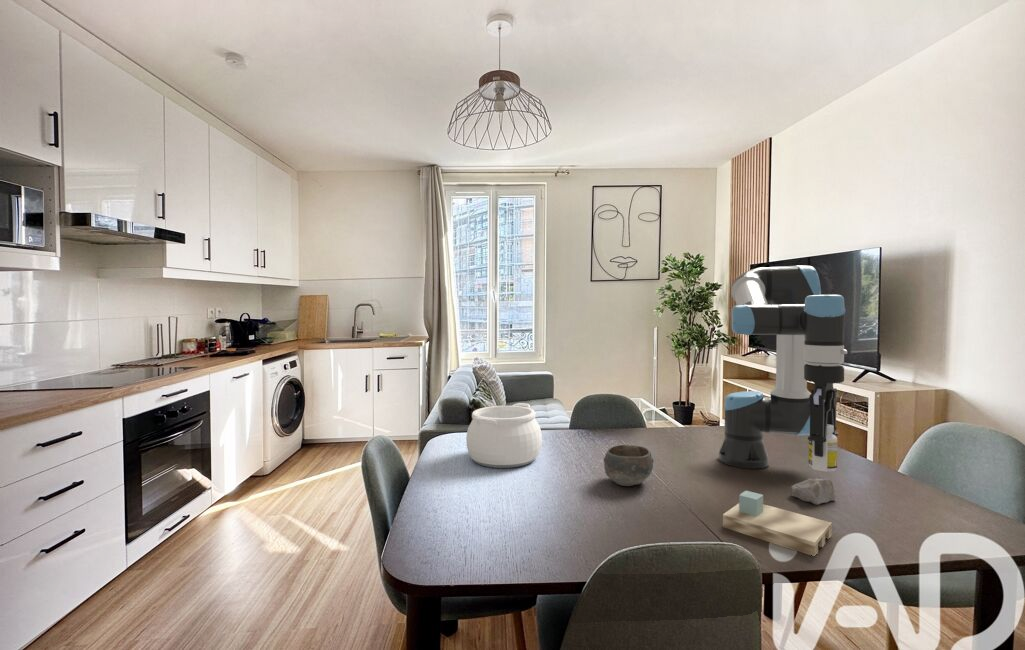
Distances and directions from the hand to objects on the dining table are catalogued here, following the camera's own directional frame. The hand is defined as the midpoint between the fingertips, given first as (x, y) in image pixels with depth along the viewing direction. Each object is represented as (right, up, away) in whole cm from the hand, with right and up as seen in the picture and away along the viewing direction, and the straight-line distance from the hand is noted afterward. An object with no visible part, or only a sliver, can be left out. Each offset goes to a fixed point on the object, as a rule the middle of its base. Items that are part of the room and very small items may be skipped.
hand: (823, 466), depth 107 cm
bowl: (-35, -16, +35) cm, 52 cm away
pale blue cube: (-13, -13, +7) cm, 19 cm away
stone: (+11, -16, +21) cm, 28 cm away
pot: (-73, -15, +60) cm, 95 cm away
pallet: (-9, -16, +3) cm, 18 cm away
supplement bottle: (0, -1, 0) cm, 1 cm away
